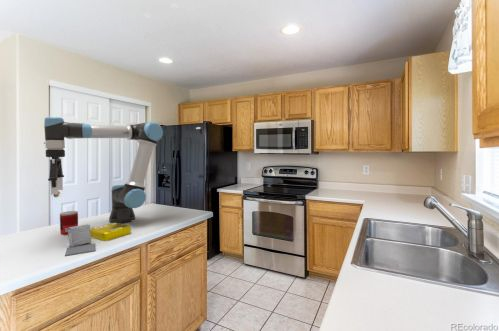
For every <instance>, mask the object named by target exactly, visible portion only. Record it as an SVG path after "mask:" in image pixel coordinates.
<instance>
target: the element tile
mask: <svg viewBox="0 0 499 331" xmlns="http://www.w3.org/2000/svg"><path fill="white" fill-rule="evenodd" d="M131 233H132V232H131V226H130V225H128V224H124V223H107V224H103V225H99V226H94V227H90V234H91V239H96V240H100V241H103V242H107V241H111V240H115V239H117V238H122V237H124V236H127V235H131Z"/></svg>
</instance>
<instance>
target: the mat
mask: <svg viewBox="0 0 499 331" xmlns="http://www.w3.org/2000/svg"><path fill="white" fill-rule="evenodd" d="M93 252H96V243H87V244H82V245H78V246H74V247H71V246H69V247H66V250H65V254H64V257H71V256H75V255H81V254H87V253H93Z"/></svg>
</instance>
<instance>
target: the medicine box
mask: <svg viewBox="0 0 499 331" xmlns="http://www.w3.org/2000/svg"><path fill="white" fill-rule="evenodd" d="M90 229H91V225H90V224H88V223H86V224H80V225H78V226H75V227H70V228H68V234H67V235H68V245H69V247H75V246H82V245H87V244H91V243H92V237H91V234H90Z"/></svg>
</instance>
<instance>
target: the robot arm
mask: <svg viewBox="0 0 499 331" xmlns="http://www.w3.org/2000/svg"><path fill="white" fill-rule="evenodd" d="M43 123H44V125H43V128H44V140H45V141H44V142H43V144H44V146H45V157H46V158H51V159H50V160H49V175H48V176H49V177H48V178H47V180H48V181H49V182H50V195H59V191H63V190H64V189H63V188H64V187H63V185H64V184H63V178H64V177H65V175H64V174H63V173H64V172H63V167H62V158H64V157H66V150H65V148H66V145H65V144H66V142H65V139H69V140H72V139H127V140H128V141H129V140H133V141H137V142H138V146H137V150H136V153H135V158H134V160H133V164H132V168H131V172H130V175H129V178H128V181H126V182H124V184H119V185H118V184H116V185H113V186H112V187H111V211H110V214H109V218H108V222H109V224H111V223H120V224H124V223H130V222H134V221H135V220H136V214H135V211H134V209H137V208H140V207H141V206H143V205H144V203H145V201H146V199H147V195H146V193H145V190H146V187H145V184H144V183H145V179H146V176H147V172H148V168H149V164H150V162H151V161H150V160H151V158H152V154H153V149H154V148H155V147H157V145H158V142H159V141H160V140H161V139H162V138H163V134H164V131H163V128H162V126H161V125H160V124H159V123H157V122H154V121H148V122H141V123H135V124H127V125H125V126H124V125H95V124H93V125H91V124H89V123H85V122H84V123H83V122H81V123H80V122H79V123H78V122H65V120H64V118H63V117H57V116H47V117H44V122H43Z"/></svg>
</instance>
